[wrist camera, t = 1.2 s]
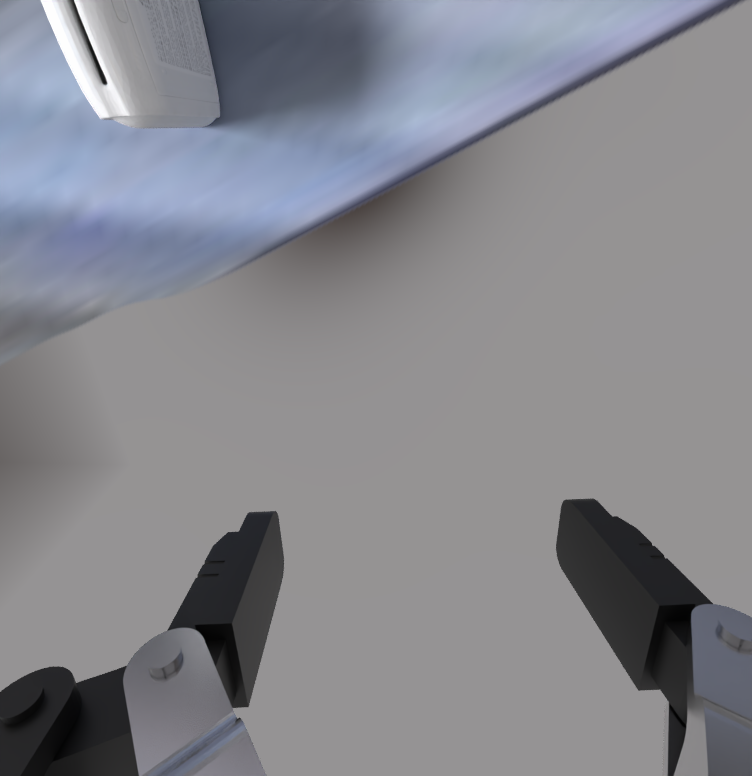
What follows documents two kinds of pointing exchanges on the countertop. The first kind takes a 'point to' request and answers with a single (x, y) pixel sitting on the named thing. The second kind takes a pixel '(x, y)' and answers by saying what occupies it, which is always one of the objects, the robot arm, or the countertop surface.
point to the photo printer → (139, 60)
